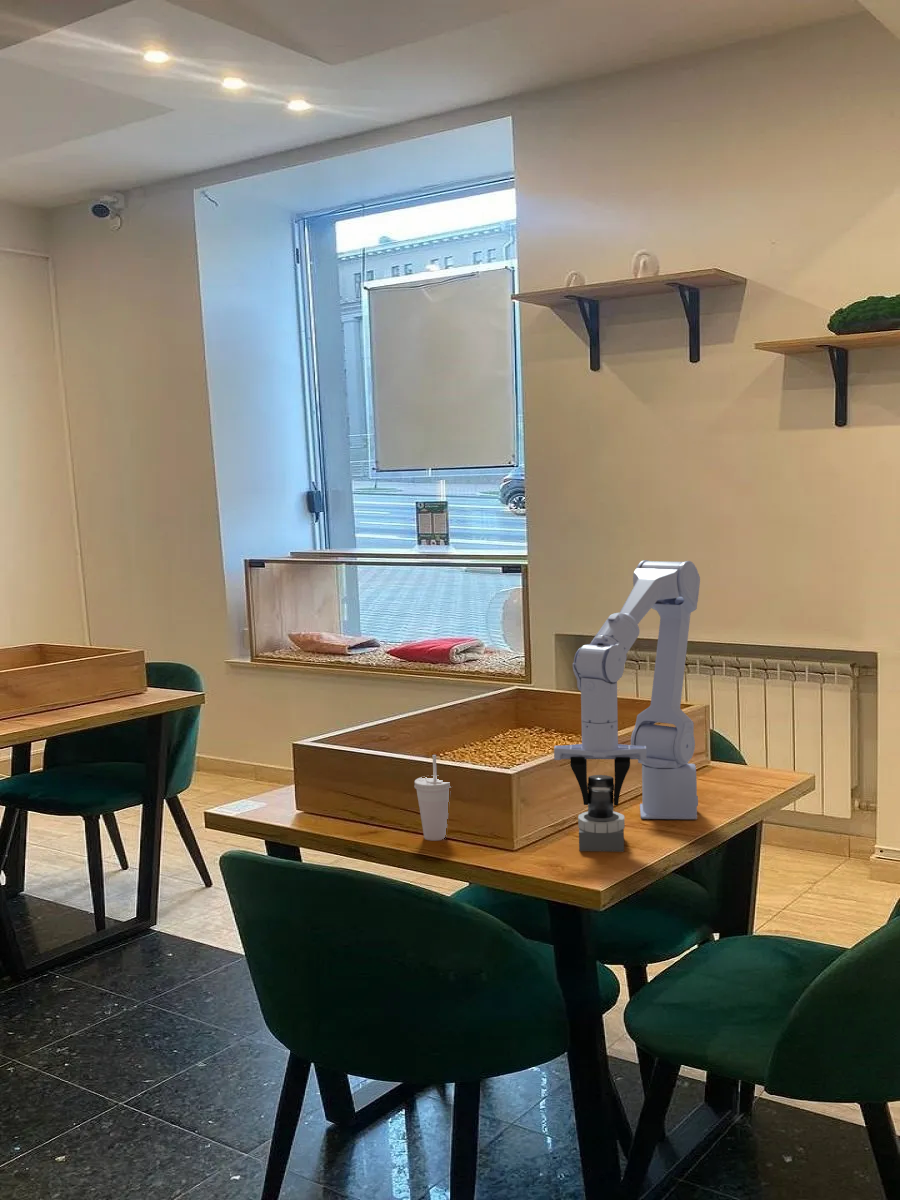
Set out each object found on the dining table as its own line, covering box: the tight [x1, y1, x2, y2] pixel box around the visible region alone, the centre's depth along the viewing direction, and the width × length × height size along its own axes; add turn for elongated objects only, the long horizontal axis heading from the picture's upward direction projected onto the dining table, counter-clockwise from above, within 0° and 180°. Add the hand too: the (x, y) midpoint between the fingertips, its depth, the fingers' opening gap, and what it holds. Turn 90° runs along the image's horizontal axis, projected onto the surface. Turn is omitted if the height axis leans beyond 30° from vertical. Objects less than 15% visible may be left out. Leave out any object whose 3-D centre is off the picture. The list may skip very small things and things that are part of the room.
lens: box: [587, 774, 615, 818], centre depth 181 cm, size 4×4×6 cm
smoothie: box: [413, 754, 452, 842], centre depth 187 cm, size 6×6×14 cm
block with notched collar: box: [577, 811, 626, 853], centre depth 181 cm, size 7×7×4 cm
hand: (600, 803), depth 181 cm, fingers closed on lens, 4 cm apart
